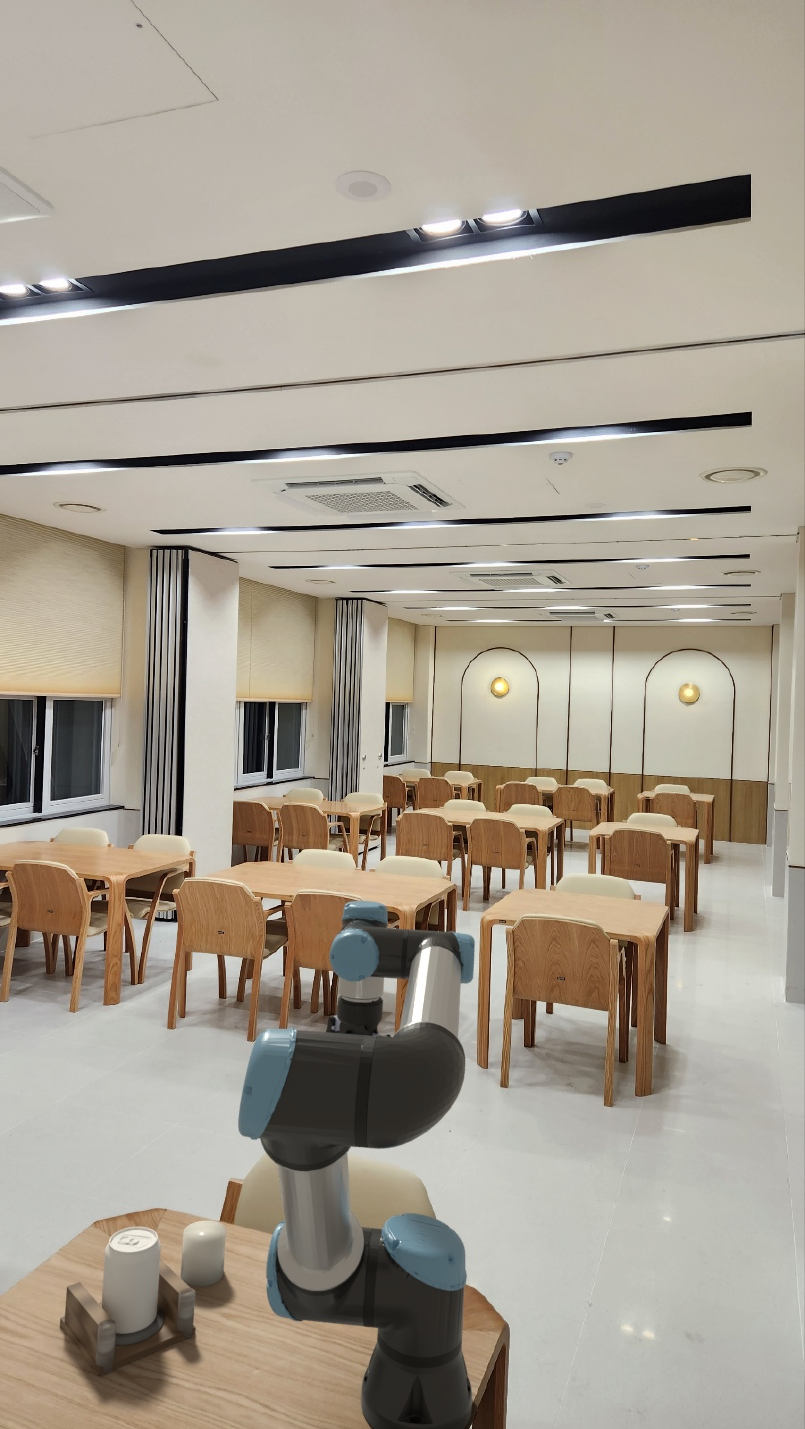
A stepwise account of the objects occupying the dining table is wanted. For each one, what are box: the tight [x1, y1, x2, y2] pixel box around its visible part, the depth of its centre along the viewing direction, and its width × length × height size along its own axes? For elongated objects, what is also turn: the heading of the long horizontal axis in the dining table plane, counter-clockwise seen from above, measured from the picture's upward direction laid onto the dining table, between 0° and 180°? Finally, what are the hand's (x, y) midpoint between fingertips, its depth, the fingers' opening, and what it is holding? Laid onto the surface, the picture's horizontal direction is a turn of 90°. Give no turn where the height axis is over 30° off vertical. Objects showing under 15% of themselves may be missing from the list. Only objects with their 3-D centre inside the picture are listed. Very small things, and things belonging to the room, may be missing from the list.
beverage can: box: [101, 1226, 162, 1334], centre depth 136 cm, size 8×8×12 cm
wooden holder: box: [59, 1258, 197, 1377], centre depth 135 cm, size 14×15×6 cm
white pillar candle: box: [180, 1220, 227, 1287], centre depth 151 cm, size 7×7×7 cm
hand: (353, 1126), depth 149 cm, fingers open, 13 cm apart
